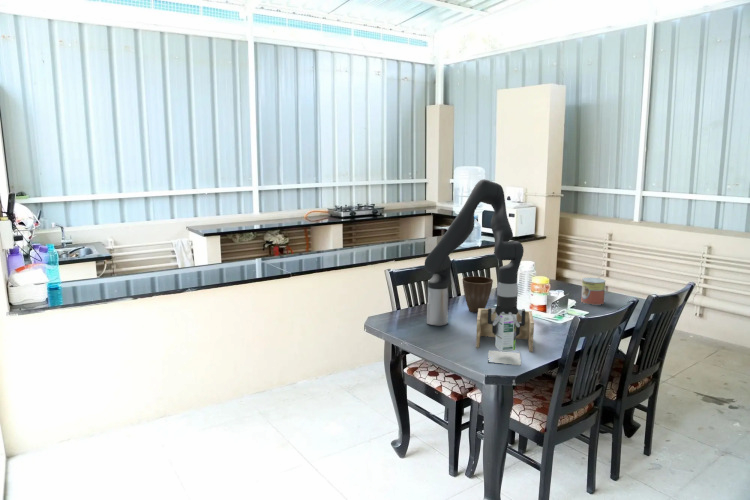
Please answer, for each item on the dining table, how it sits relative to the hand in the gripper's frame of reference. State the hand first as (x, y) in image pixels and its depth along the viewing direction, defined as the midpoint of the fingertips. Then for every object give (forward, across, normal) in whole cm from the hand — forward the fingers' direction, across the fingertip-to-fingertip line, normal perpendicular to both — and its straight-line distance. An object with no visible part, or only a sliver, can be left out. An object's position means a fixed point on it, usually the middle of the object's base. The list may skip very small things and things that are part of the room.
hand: (505, 335), depth 201 cm
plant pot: (+9, +13, -61) cm, 63 cm away
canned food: (+9, -46, -88) cm, 100 cm away
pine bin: (+9, 0, -16) cm, 18 cm away
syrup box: (+6, 0, 0) cm, 6 cm away
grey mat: (+9, 0, +1) cm, 9 cm away
